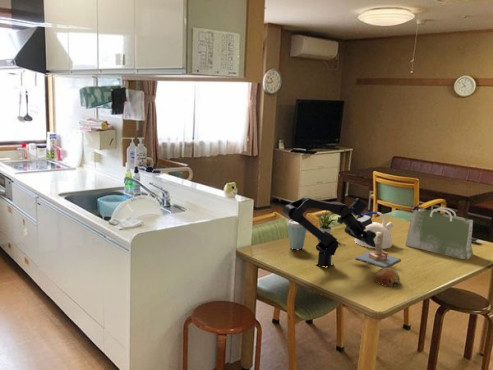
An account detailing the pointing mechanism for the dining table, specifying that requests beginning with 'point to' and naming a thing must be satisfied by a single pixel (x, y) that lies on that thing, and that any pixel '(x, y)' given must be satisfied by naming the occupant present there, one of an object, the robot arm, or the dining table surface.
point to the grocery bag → (441, 233)
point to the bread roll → (387, 277)
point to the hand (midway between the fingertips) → (369, 243)
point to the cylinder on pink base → (379, 248)
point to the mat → (381, 263)
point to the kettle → (378, 228)
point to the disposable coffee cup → (296, 234)
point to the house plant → (325, 222)
